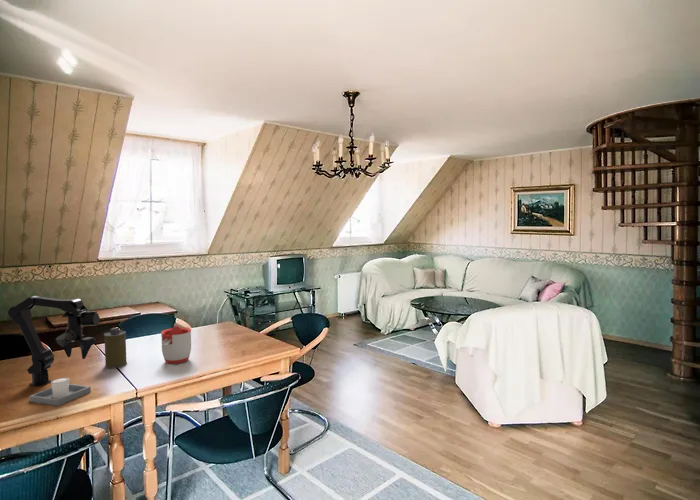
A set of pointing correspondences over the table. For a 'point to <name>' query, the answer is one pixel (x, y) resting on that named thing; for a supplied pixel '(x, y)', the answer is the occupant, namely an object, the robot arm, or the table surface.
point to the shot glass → (60, 387)
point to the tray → (48, 399)
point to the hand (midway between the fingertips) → (76, 358)
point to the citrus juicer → (176, 344)
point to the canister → (115, 348)
